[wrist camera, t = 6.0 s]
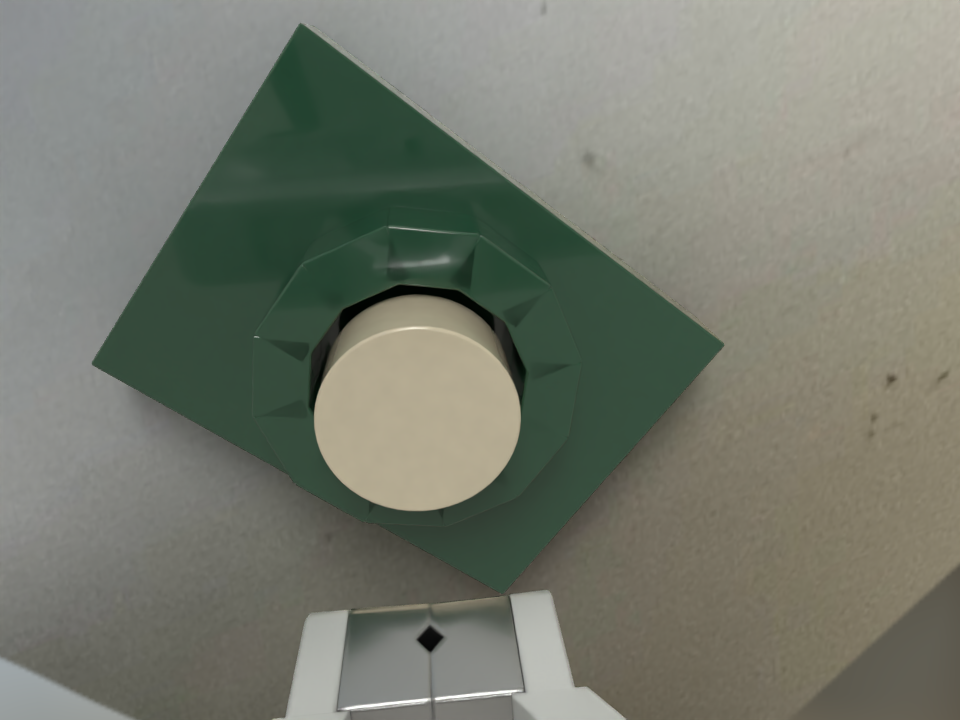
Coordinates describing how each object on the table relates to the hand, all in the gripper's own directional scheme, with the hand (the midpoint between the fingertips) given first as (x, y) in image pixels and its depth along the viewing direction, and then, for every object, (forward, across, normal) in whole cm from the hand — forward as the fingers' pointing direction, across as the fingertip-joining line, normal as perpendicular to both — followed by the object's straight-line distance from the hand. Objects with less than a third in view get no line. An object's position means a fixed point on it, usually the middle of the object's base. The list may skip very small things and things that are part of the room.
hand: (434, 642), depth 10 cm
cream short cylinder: (+8, 0, 0) cm, 8 cm away
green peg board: (+11, 0, 0) cm, 11 cm away
